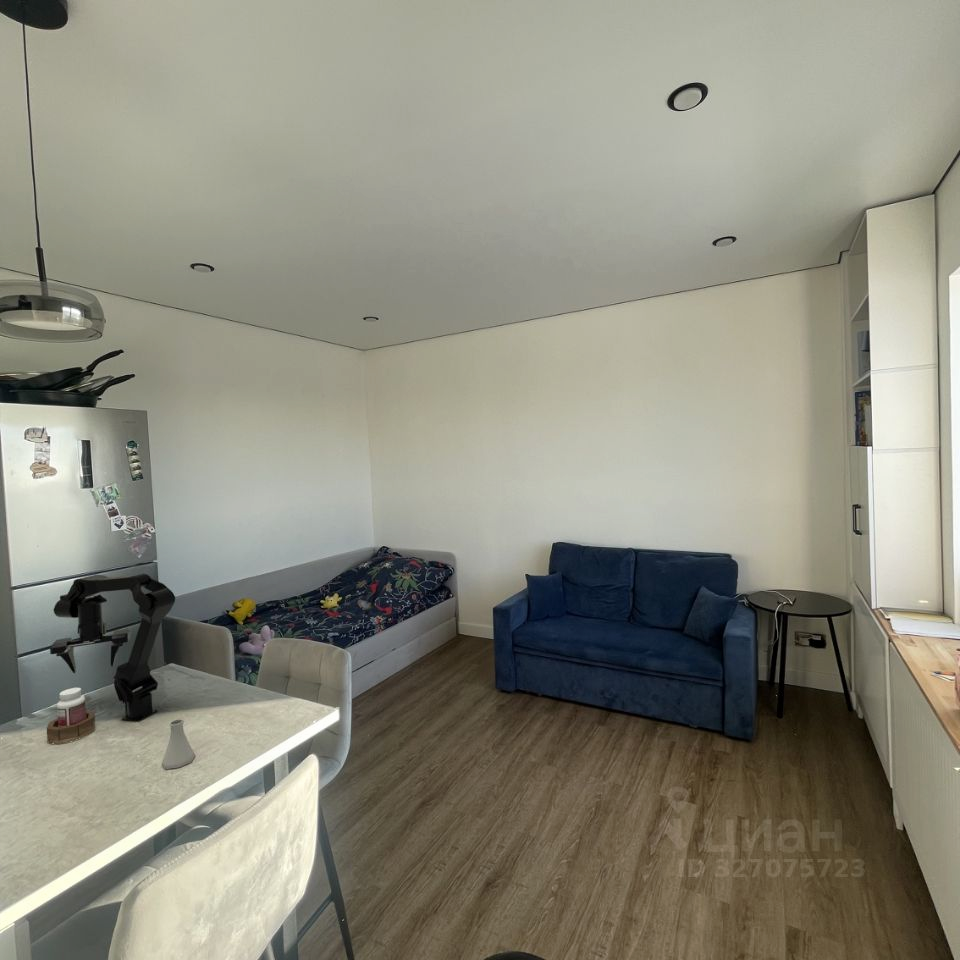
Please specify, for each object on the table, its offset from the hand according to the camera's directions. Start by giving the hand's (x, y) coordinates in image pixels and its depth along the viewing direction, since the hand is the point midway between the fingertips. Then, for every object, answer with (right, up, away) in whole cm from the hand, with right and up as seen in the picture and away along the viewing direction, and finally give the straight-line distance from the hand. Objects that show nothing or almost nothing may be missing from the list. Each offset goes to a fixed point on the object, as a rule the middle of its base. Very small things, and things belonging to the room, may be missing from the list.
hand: (93, 669), depth 155 cm
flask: (+42, -13, -28) cm, 52 cm away
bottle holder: (+4, -13, -13) cm, 19 cm away
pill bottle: (+4, -13, -13) cm, 18 cm away
